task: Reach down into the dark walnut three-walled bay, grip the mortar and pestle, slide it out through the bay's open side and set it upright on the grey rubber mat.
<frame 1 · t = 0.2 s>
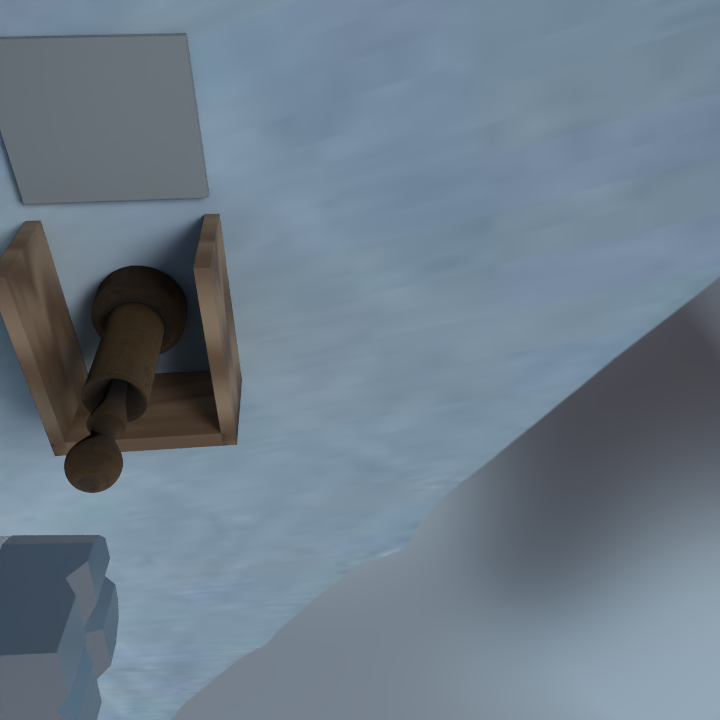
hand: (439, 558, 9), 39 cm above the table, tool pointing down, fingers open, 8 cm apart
grey rubber mat: (101, 121, 43), on the table
walnut bay: (143, 304, 51), on the table
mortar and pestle: (143, 302, 51), resting in walnut bay
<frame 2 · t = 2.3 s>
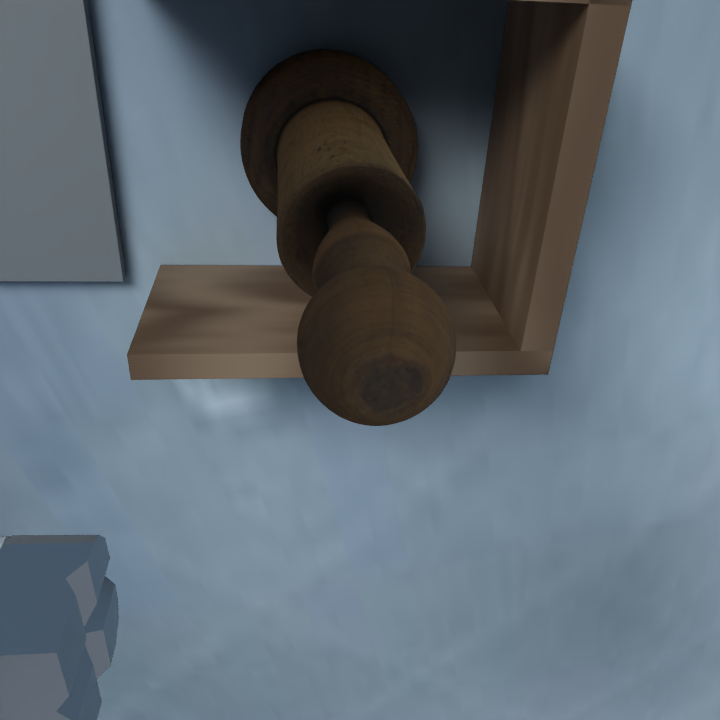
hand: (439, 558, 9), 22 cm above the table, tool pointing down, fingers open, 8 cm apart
walnut bay: (327, 137, 27), on the table
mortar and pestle: (326, 136, 27), resting in walnut bay
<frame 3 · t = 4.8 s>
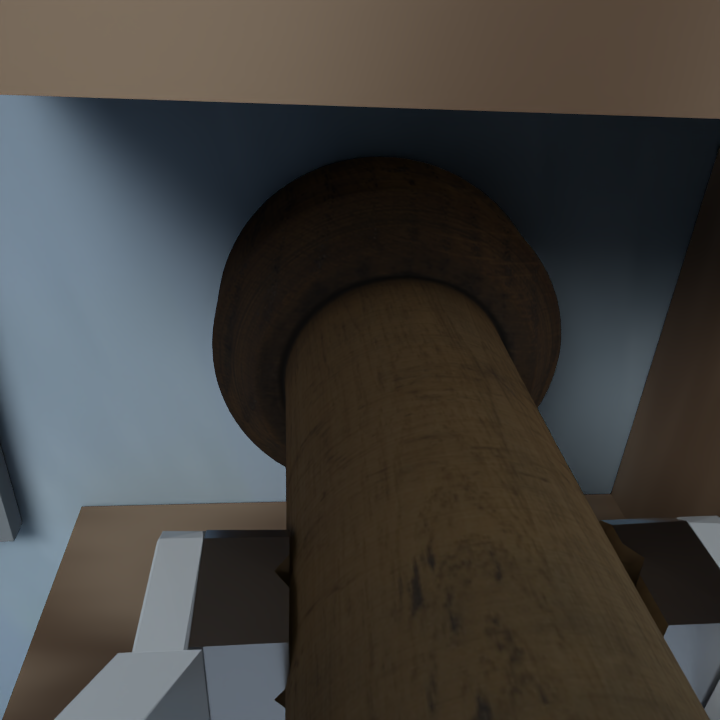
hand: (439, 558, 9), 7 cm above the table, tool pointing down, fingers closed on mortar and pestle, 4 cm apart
walnut bay: (377, 307, 15), on the table
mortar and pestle: (376, 302, 15), resting in walnut bay, touching gripper
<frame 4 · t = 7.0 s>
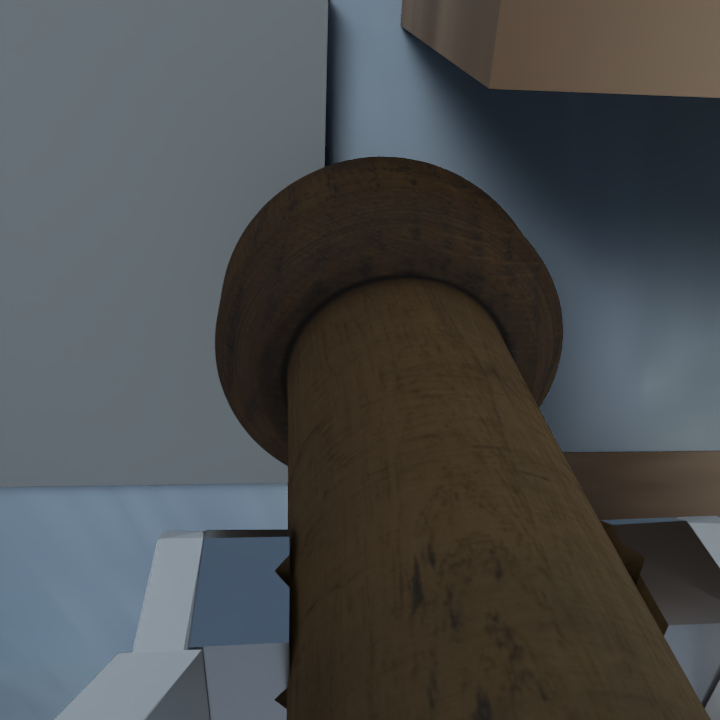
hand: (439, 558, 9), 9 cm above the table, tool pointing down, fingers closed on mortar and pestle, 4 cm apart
grey rubber mat: (108, 272, 16), on the table
walnut bay: (657, 279, 17), on the table
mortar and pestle: (378, 302, 15), point 2 cm above the table, touching gripper
when the fingers open (8 cm above the table, at t = 9.3 s): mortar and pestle stays where it is, resting on grey rubber mat.
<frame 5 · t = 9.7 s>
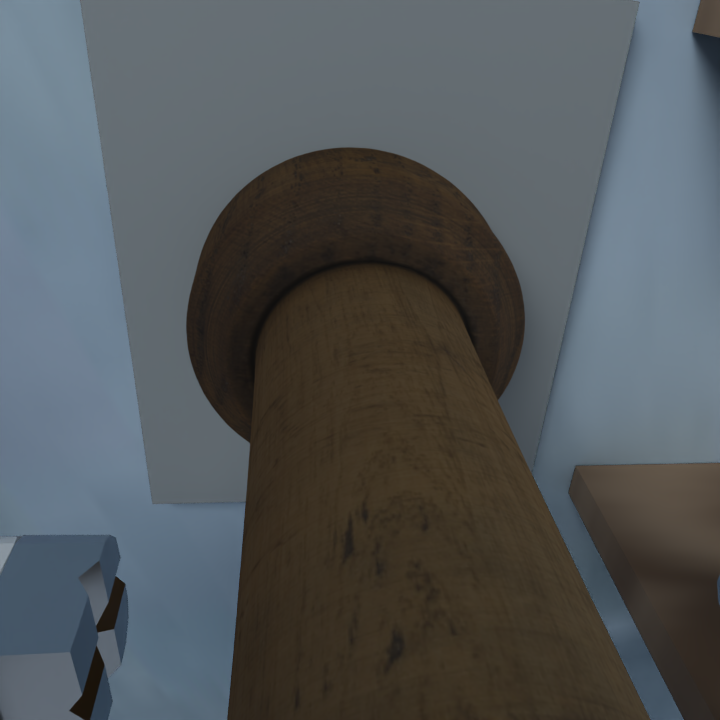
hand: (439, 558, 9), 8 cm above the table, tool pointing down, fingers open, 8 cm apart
grey rubber mat: (352, 284, 16), on the table
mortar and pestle: (350, 290, 15), resting on grey rubber mat
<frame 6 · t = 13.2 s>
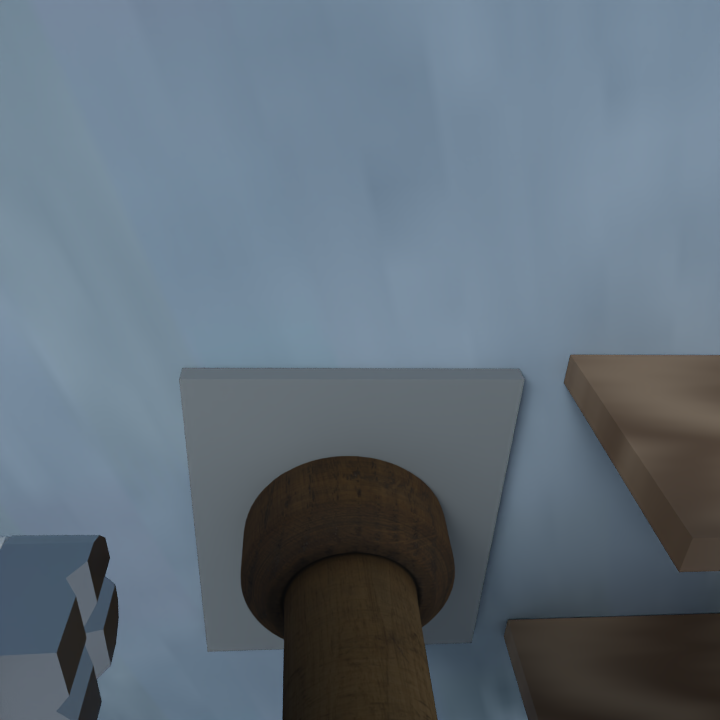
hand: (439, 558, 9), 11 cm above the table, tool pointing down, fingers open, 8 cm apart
grey rubber mat: (346, 518, 23), on the table
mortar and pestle: (345, 526, 23), resting on grey rubber mat
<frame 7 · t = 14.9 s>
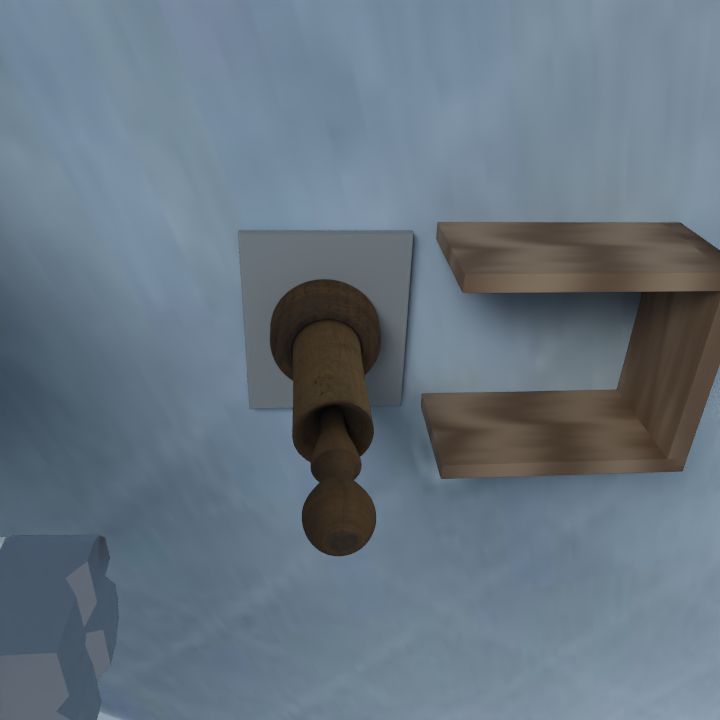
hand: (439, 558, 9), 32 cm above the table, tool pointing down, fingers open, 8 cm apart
grey rubber mat: (325, 322, 43), on the table
walnut bay: (536, 320, 44), on the table
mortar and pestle: (324, 324, 42), resting on grey rubber mat
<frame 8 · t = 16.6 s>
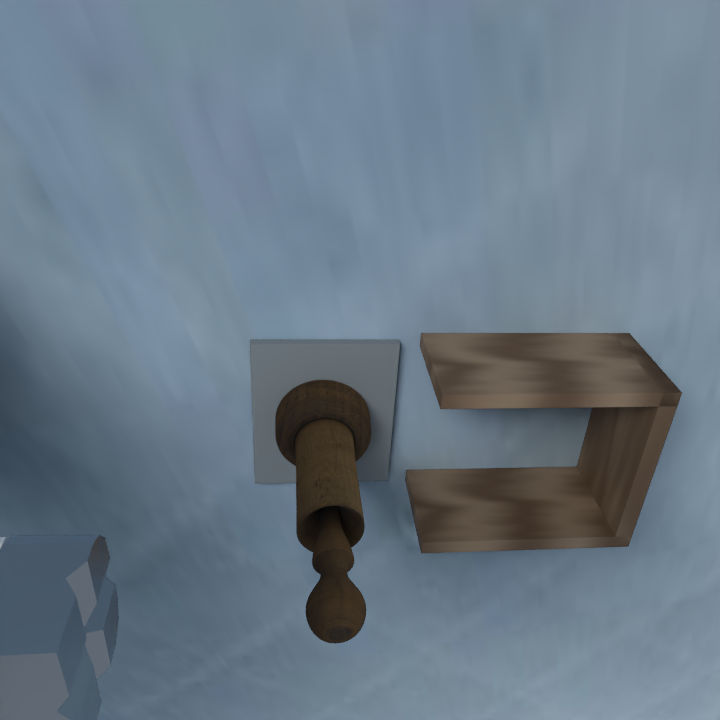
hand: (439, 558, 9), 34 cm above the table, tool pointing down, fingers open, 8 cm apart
grey rubber mat: (323, 412, 49), on the table
walnut bay: (506, 410, 50), on the table
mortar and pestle: (322, 415, 49), resting on grey rubber mat
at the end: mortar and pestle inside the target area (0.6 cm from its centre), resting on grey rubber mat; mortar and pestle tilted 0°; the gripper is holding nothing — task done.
